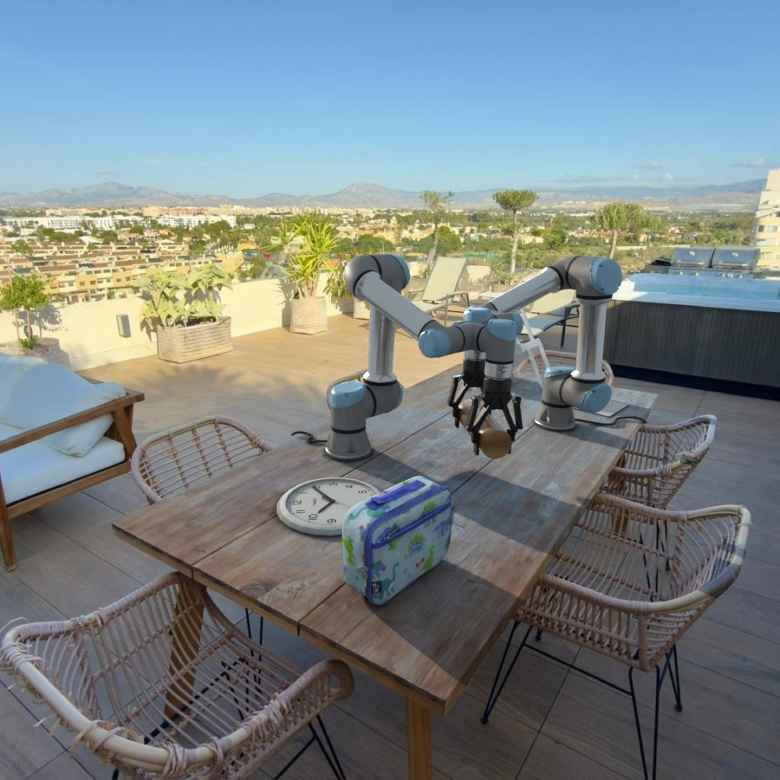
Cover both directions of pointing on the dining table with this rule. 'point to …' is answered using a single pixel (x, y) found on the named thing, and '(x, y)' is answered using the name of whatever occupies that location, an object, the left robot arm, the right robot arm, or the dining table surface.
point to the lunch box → (395, 537)
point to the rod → (488, 433)
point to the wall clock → (322, 504)
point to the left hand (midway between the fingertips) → (491, 452)
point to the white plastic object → (529, 350)
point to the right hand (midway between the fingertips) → (470, 426)
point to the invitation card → (611, 408)
